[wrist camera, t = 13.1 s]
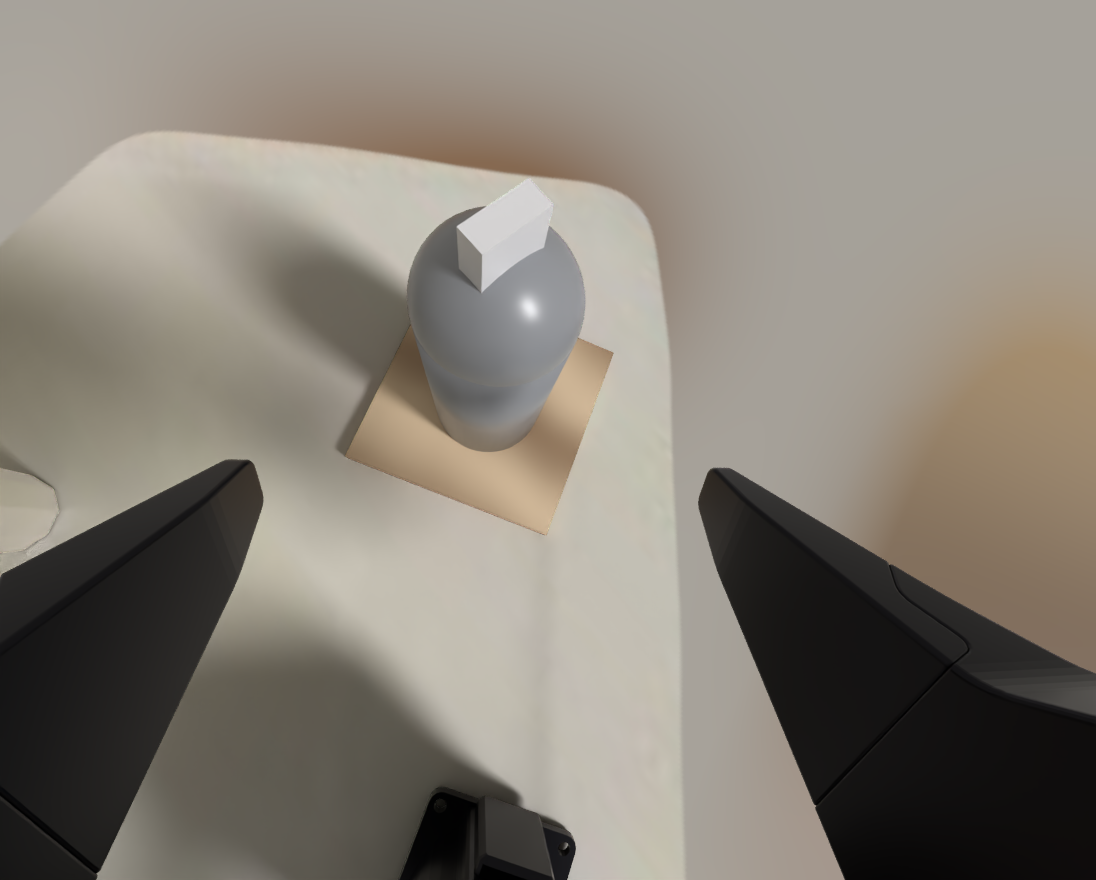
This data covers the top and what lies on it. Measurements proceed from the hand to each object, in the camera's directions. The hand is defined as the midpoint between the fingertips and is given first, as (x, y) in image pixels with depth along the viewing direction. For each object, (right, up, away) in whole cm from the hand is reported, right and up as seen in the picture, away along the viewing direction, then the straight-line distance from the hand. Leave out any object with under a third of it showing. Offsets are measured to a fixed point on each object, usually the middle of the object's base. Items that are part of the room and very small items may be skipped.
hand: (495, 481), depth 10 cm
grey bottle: (-2, +3, +14) cm, 14 cm away
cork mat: (-2, +3, +14) cm, 15 cm away
